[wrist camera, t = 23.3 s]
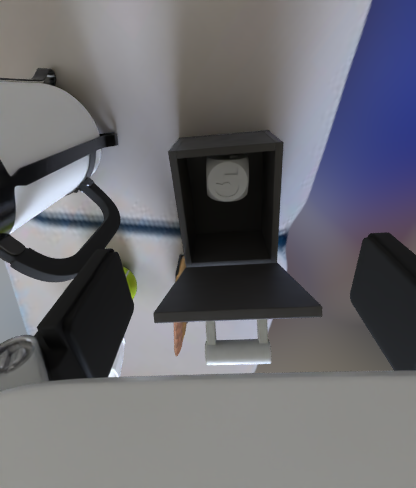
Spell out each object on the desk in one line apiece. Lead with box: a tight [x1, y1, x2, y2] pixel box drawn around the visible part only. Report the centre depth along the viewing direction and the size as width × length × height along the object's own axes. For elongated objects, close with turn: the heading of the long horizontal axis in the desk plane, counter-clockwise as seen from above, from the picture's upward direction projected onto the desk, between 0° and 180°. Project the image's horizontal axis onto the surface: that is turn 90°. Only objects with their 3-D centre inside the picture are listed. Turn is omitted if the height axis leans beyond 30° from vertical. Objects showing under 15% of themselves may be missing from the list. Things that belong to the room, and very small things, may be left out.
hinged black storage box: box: [168, 130, 283, 267], centre depth 34 cm, size 15×12×9 cm
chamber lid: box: [154, 263, 322, 365], centre depth 26 cm, size 15×12×5 cm
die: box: [206, 153, 249, 202], centre depth 34 cm, size 5×5×5 cm
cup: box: [108, 337, 126, 377], centre depth 51 cm, size 7×10×8 cm
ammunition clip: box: [174, 255, 188, 356], centre depth 41 cm, size 11×2×12 cm, turn 177°
